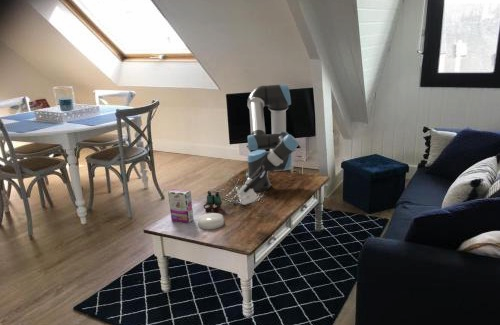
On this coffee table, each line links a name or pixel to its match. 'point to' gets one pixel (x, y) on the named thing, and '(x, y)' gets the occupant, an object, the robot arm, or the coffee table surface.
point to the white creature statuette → (248, 194)
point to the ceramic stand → (210, 221)
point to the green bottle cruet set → (213, 202)
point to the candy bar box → (180, 205)
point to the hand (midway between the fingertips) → (240, 193)
